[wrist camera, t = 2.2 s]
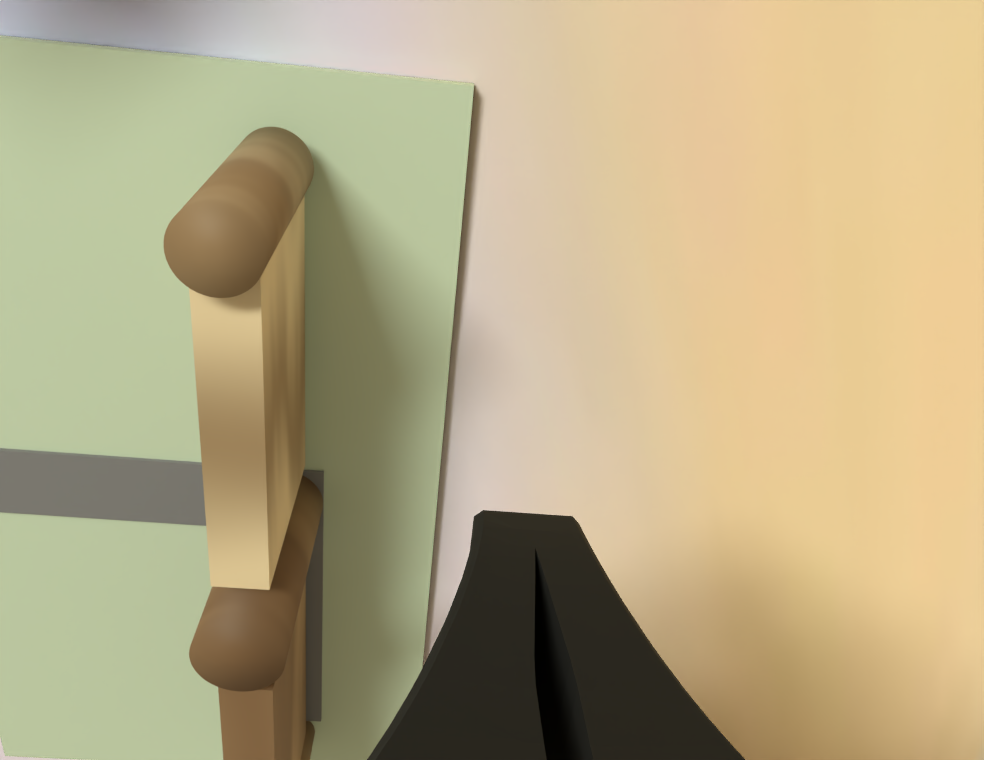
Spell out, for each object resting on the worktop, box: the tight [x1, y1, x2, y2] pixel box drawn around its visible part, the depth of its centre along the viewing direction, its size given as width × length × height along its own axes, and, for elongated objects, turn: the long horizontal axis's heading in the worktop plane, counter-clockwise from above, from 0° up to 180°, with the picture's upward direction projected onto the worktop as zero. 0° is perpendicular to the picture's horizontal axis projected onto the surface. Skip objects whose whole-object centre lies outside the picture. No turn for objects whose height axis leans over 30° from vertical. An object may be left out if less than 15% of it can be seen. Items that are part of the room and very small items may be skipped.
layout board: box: [0, 35, 474, 760], centre depth 23 cm, size 13×22×1 cm, turn 174°
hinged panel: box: [164, 127, 314, 590], centre depth 18 cm, size 8×2×5 cm, turn 174°
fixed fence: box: [189, 475, 323, 760], centre depth 23 cm, size 2×11×6 cm, turn 174°
